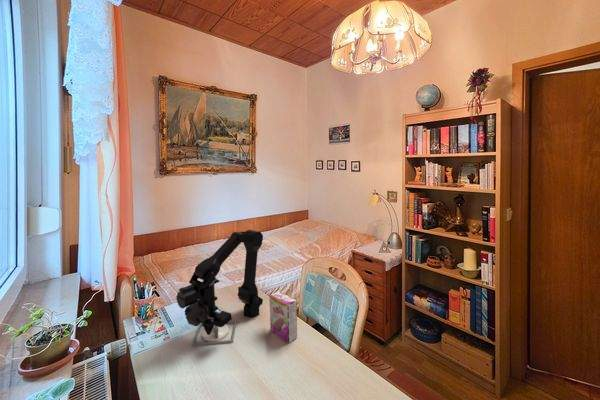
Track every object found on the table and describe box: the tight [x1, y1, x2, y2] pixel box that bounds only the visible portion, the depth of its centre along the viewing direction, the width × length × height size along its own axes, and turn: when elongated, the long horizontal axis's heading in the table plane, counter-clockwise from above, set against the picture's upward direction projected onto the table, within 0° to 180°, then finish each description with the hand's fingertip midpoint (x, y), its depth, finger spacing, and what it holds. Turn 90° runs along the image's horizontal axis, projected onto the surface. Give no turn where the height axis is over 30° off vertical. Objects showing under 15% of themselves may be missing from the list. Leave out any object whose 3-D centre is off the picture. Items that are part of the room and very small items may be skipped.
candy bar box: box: [269, 290, 298, 344], centre depth 106 cm, size 11×5×16 cm, turn 47°
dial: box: [201, 324, 229, 342], centre depth 106 cm, size 10×10×5 cm
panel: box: [191, 320, 237, 348], centre depth 107 cm, size 15×13×2 cm
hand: (208, 334), depth 102 cm, fingers closed
